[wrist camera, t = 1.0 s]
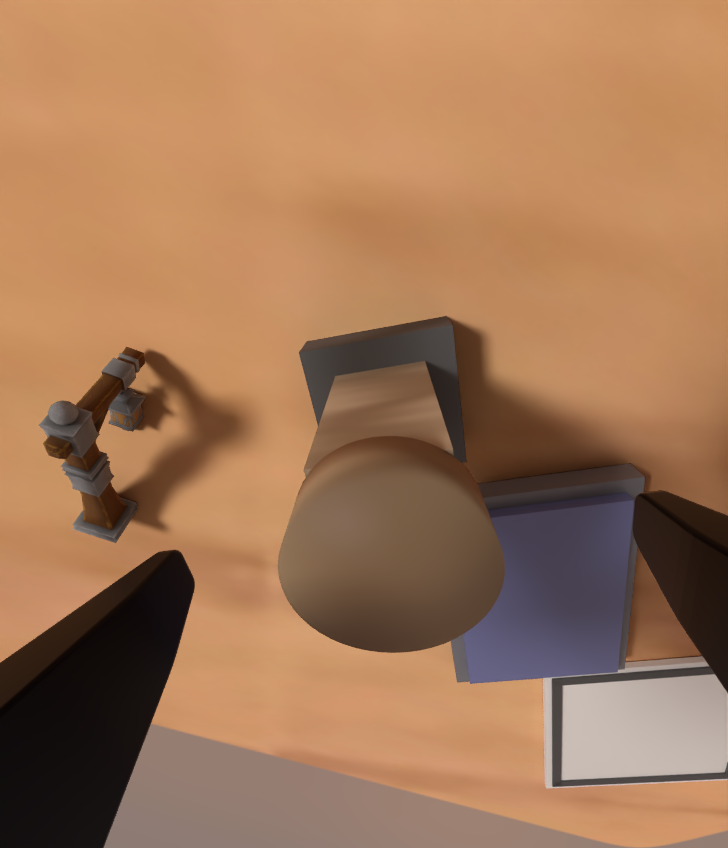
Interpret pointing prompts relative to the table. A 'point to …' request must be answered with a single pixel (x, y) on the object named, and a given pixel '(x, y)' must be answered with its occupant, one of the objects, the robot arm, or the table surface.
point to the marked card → (636, 725)
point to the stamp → (389, 496)
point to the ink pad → (557, 577)
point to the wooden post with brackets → (76, 443)
